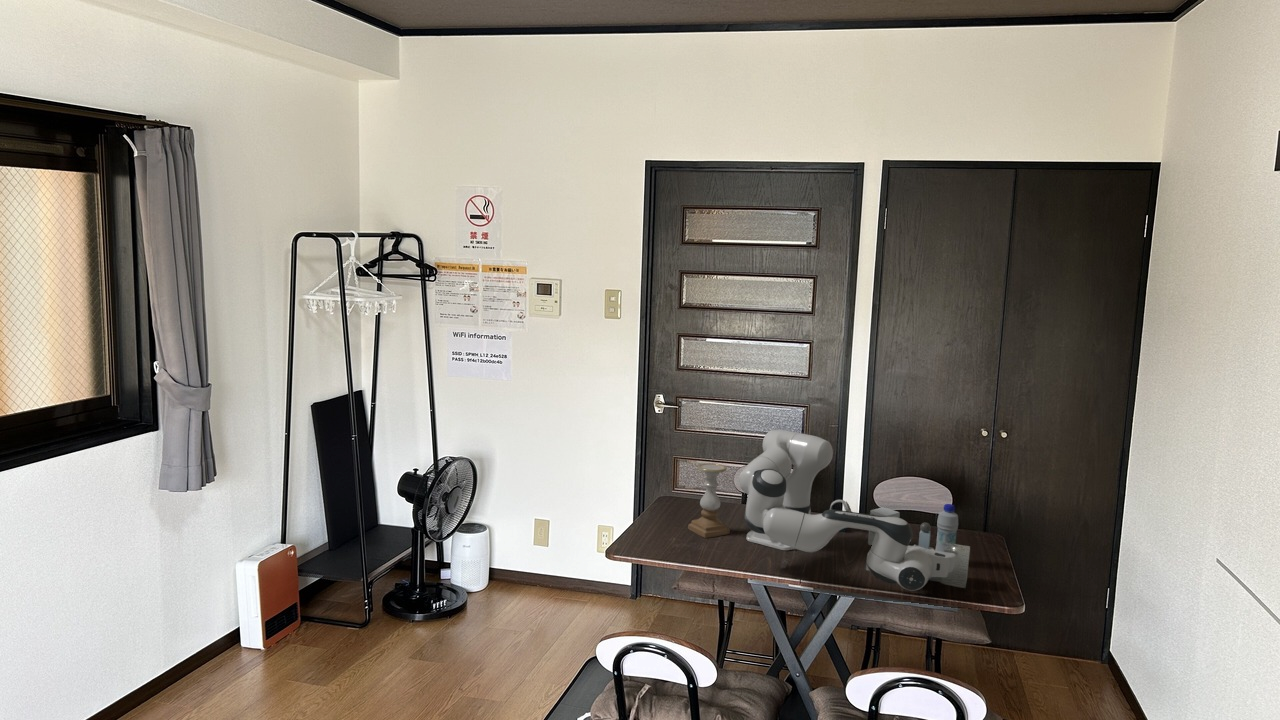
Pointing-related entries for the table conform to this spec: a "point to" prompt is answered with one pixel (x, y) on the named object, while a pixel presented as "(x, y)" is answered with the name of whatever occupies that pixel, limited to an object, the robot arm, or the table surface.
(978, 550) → the table surface
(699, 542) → the table surface
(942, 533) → the bottle
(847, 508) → the watch
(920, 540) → the ball-topped pillar
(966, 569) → the grey slide rail
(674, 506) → the table surface
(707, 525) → the candle holder
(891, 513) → the supplement box
